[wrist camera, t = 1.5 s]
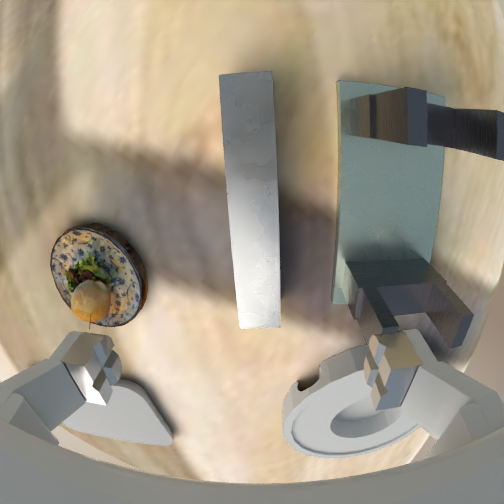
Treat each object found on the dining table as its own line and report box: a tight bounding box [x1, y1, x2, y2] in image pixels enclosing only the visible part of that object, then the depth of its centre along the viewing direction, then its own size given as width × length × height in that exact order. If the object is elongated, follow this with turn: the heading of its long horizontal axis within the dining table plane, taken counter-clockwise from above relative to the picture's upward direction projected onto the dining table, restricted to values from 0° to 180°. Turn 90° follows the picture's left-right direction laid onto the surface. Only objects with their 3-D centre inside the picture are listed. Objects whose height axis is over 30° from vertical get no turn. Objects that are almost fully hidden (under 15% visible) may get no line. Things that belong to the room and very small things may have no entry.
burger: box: [50, 223, 148, 329], centre depth 25 cm, size 12×12×8 cm
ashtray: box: [282, 344, 421, 458], centre depth 34 cm, size 23×23×4 cm
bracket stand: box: [331, 81, 504, 351], centre depth 19 cm, size 20×10×10 cm, turn 3°
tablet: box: [62, 379, 174, 446], centre depth 38 cm, size 16×26×2 cm, turn 99°
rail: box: [219, 71, 280, 329], centre depth 23 cm, size 20×4×4 cm, turn 3°
